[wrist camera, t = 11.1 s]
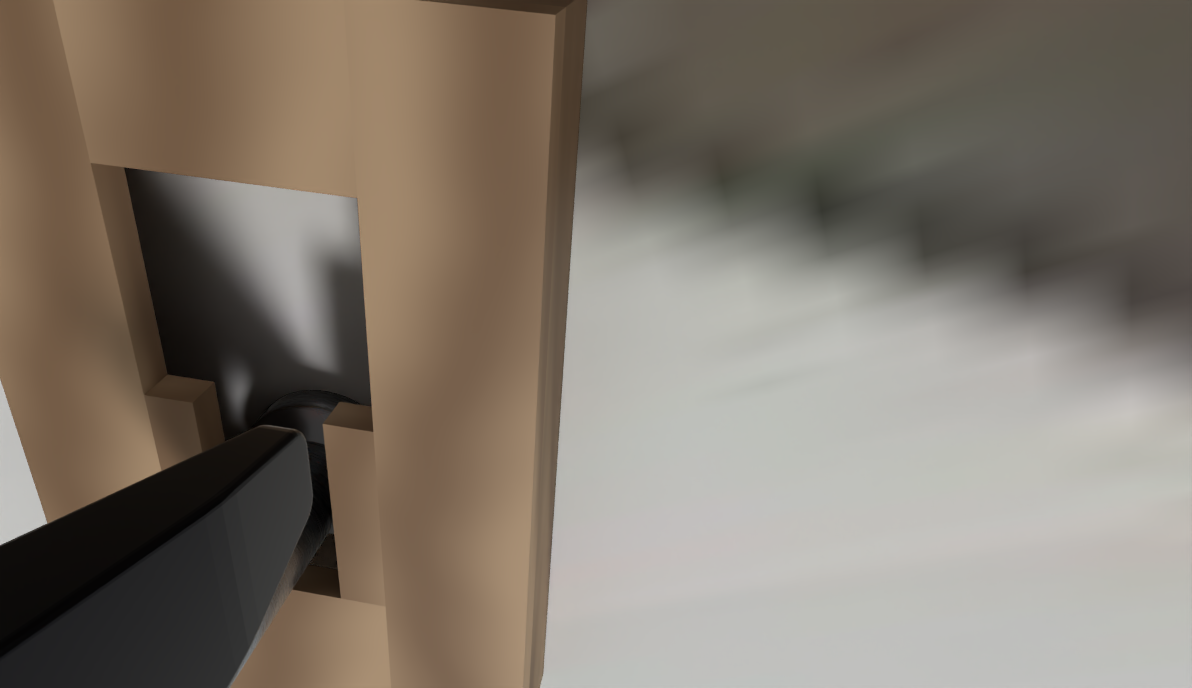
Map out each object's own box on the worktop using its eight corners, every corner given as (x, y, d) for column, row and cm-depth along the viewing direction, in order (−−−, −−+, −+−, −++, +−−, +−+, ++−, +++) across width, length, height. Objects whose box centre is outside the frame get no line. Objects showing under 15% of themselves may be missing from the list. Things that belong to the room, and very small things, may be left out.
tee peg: (400, 403, 25) (210, 693, 16) (406, 523, 27) (243, 833, 18) (250, 379, 25) (-12, 649, 16) (269, 499, 27) (47, 791, 19)
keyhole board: (588, -10, 18) (555, 14, 15) (543, 673, 29) (519, 766, 26) (-6, -72, 20) (-144, -61, 17) (164, 603, 31) (100, 683, 28)
